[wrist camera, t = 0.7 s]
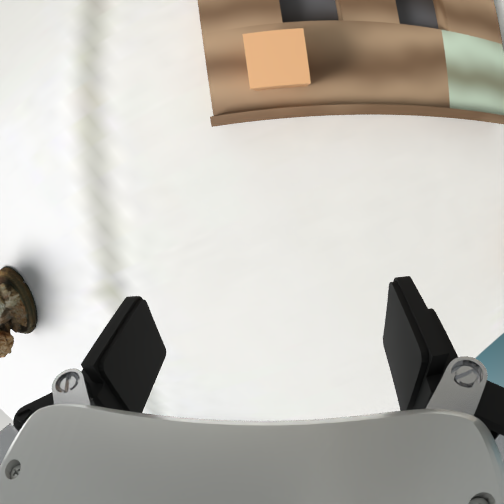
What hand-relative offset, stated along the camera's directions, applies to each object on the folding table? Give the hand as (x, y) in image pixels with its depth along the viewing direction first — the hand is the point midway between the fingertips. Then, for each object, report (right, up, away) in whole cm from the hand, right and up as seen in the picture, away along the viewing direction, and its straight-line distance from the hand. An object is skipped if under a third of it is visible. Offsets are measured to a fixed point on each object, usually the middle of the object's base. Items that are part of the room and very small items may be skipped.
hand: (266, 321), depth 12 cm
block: (+2, +21, +15) cm, 26 cm away
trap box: (+12, +26, +15) cm, 32 cm away
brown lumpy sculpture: (-48, -8, +39) cm, 63 cm away
